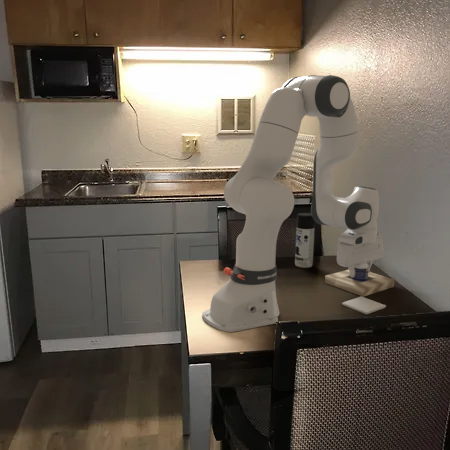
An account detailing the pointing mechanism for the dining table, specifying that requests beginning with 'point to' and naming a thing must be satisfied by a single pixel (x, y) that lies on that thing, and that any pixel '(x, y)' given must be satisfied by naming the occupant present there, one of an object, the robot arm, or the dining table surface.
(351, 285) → the socket block
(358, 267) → the pill bottle
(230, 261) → the dining table surface
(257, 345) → the dining table surface
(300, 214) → the spray can
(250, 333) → the dining table surface
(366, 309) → the pad
